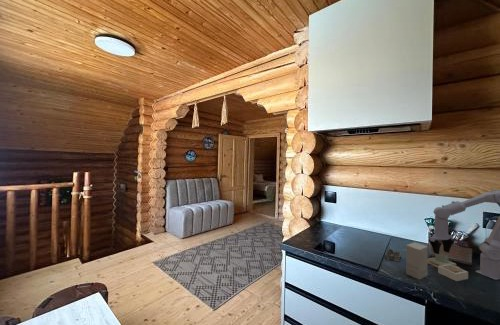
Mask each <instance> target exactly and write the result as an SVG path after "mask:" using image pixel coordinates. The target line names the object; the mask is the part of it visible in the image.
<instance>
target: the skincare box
mask: <svg viewBox="0 0 500 325" xmlns="http://www.w3.org/2000/svg"><path fill="white" fill-rule="evenodd" d="M428 252H429V246H428V245H425V244H422V243H419V242H415V241H414V242H411V243H408V244H406V251H405V254H406V257H405V259H406V260H405V274H406V275H408V276H410V277H412V278H414V279H417V280H422V279H424V278H426V277H427V276H428V257H429V256H428V255H429V253H428Z"/></svg>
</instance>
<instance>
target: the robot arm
mask: <svg viewBox="0 0 500 325" xmlns="http://www.w3.org/2000/svg"><path fill="white" fill-rule="evenodd" d="M483 203H490V204H491V203H492V204H497V206H498V207H500V189H493V190H490V191H487V192H483V193H482V194H478V195H476V196H473V197H471V198H468V199H466V200H464V201H459V200H458V201H454V200H453V201H451V202H450V203H448V204H446V205H444V204H443V205H441V206H439V207H438V206H437V207H435V208H434V209H433V212H432V213H433V215H434V234H432V236H430V237H429V239H428V242H429V243H430V246H431V247H432V251H433V254H435V253H436V254H439V253H440V249H441V246H442V248H443V252H445V253H447V254H448V253H450V251H451V248H452V246H453V245H454V243H455V240H453V239H454V236H453V235H450V234H449V218H450V217H451V216H454V215H456V214H461V213H463V212H466V209H467V208H471V207H473V206H477V205H479V204H483ZM439 241H441V242H439ZM478 249H479V251H480V252H481V253H480V256H479V258H480V265H479V269H478V270H475V272H476V273H477V274H479V275H483V276H485V277H488V278H491V279H493V280H495V281H497V280H500V215H499V217H498V218H497V220H496V222H495V224H494V226H493V227H492V230H491V232H490V234H489V235H488V237H486V238H485V239H484V241H482V242H481V243H479V245H478Z"/></svg>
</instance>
